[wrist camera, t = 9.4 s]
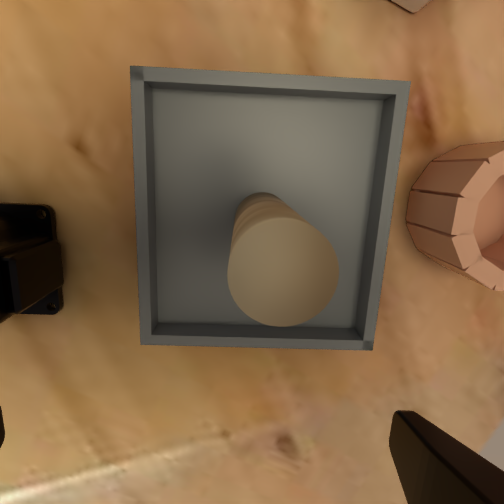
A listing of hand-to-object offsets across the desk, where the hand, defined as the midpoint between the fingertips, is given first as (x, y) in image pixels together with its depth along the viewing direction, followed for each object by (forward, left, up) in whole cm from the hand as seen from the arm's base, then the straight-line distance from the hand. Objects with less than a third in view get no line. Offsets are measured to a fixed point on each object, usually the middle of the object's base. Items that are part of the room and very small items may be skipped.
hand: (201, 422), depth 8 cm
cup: (+14, +4, -13) cm, 20 cm away
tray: (+2, +3, -13) cm, 13 cm away
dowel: (+2, +3, -12) cm, 13 cm away
